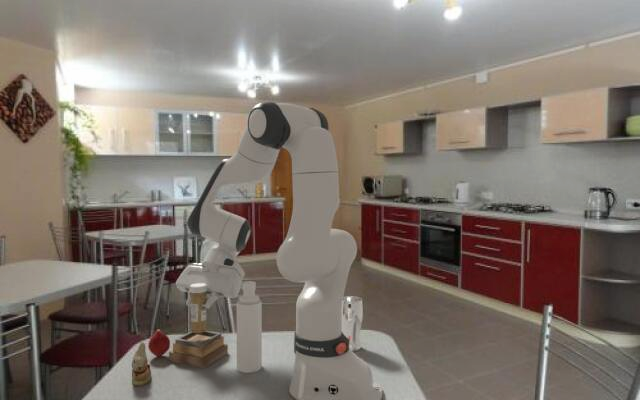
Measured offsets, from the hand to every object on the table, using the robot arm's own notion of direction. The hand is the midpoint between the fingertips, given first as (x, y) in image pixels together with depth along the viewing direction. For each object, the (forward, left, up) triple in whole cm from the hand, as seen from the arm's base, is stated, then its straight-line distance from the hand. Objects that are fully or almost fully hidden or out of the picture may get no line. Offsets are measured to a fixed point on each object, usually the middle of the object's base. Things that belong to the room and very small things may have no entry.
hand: (197, 306), depth 126 cm
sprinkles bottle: (0, -1, -8) cm, 8 cm away
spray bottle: (-17, 0, -15) cm, 23 cm away
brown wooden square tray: (0, -1, -15) cm, 15 cm away
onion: (+10, +4, -15) cm, 19 cm away
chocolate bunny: (+5, +17, -15) cm, 23 cm away
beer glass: (-38, -24, -15) cm, 47 cm away
